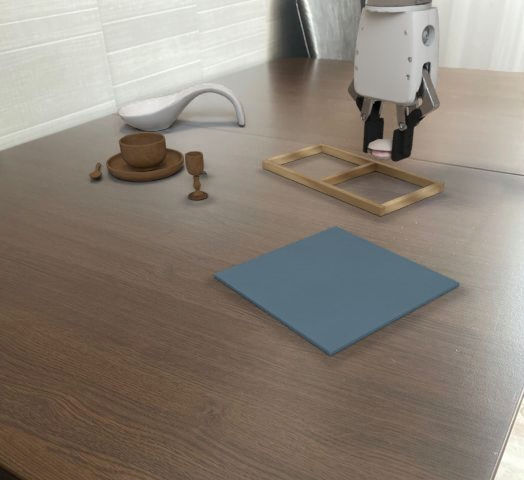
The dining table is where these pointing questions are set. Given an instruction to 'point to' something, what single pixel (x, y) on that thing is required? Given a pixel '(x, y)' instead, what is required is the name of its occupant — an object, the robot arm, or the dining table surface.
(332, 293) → the mat
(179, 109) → the spoon rest
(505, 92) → the dining table surface
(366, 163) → the holder
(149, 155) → the place setting
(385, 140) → the macaroon
